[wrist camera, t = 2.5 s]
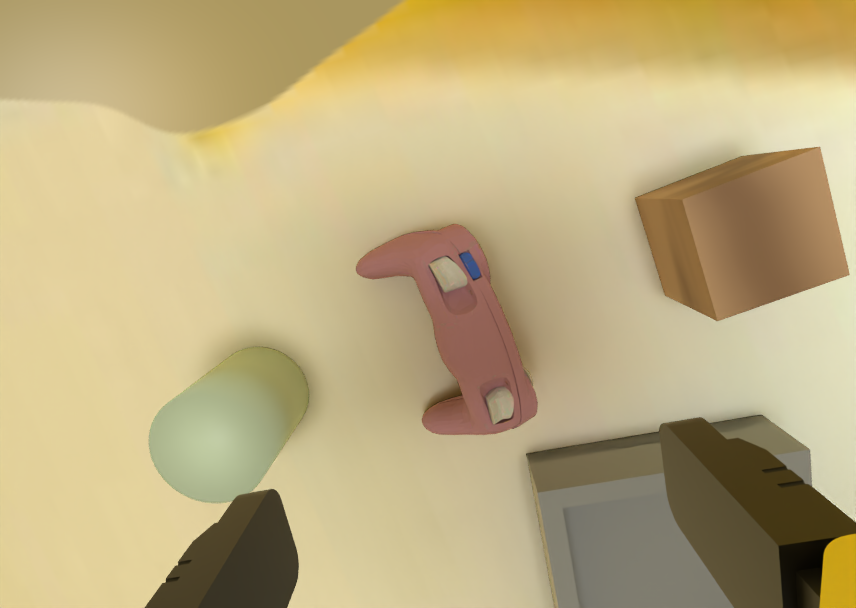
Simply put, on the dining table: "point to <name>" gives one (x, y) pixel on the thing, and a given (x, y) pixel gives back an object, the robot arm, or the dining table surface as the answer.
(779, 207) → the walnut cube
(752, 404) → the dining table surface
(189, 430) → the sage cylinder
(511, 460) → the dining table surface
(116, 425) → the dining table surface
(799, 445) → the charcoal tray
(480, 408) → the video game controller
